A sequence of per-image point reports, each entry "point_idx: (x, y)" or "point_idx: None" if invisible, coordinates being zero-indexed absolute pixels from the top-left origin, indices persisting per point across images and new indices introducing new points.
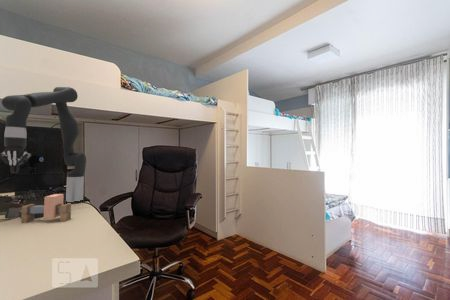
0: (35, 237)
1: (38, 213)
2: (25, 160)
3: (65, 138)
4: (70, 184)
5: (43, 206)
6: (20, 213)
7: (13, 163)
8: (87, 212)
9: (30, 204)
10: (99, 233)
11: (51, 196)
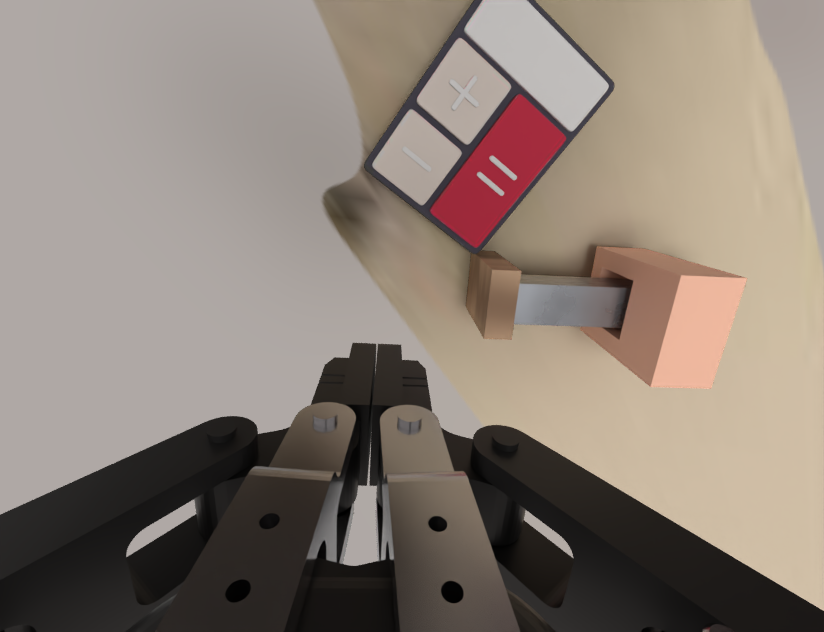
0: (621, 485)
1: (504, 220)
2: (591, 504)
3: None
4: None
5: (592, 320)
6: (384, 184)
7: (379, 522)
8: (741, 114)
9: (500, 283)
10: (817, 475)
11: (690, 377)
